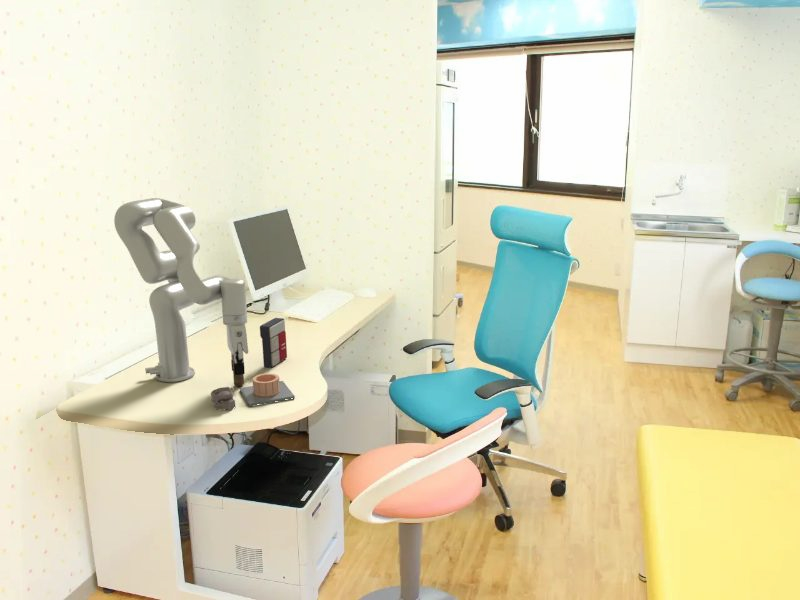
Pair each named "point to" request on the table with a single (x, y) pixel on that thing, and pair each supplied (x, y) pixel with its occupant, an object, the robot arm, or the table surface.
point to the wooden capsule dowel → (237, 378)
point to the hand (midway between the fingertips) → (238, 371)
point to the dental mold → (223, 398)
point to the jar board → (266, 390)
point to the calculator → (273, 341)
